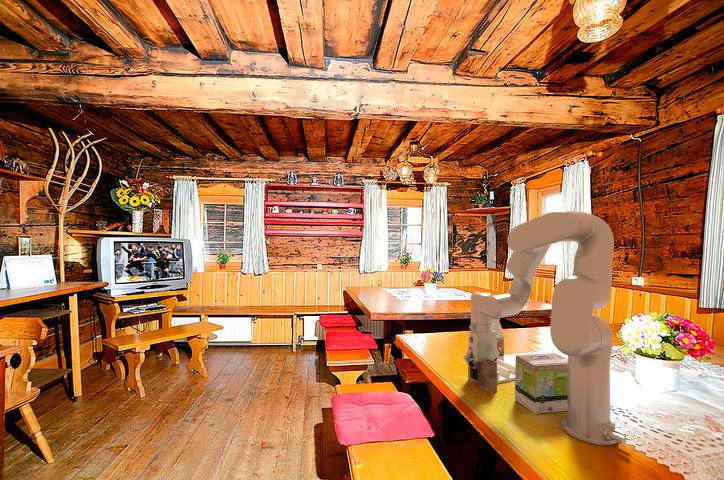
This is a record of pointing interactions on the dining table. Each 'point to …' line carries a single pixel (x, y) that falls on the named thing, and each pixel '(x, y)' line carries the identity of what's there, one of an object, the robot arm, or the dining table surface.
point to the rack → (505, 371)
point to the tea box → (541, 382)
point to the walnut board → (486, 375)
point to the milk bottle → (499, 337)
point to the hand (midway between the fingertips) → (482, 376)
